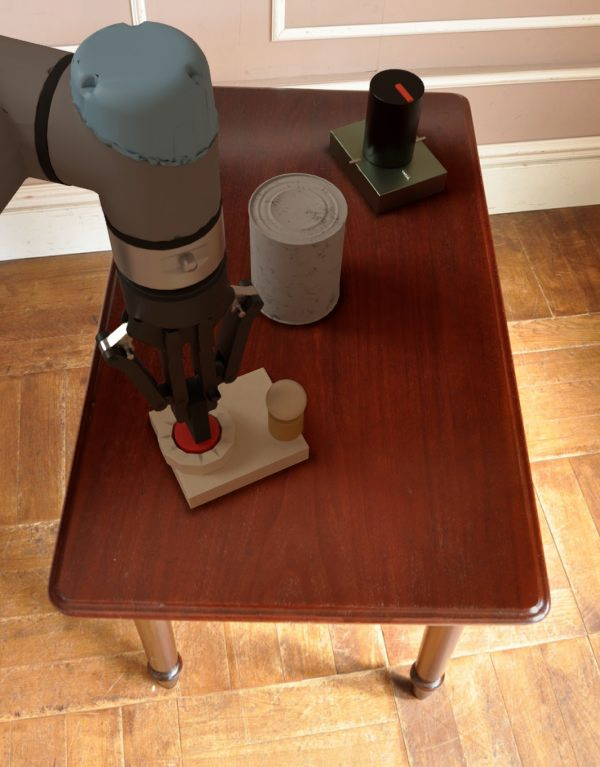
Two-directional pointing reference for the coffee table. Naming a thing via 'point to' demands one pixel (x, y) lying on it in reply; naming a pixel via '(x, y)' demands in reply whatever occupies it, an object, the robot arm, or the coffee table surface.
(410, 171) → the panel
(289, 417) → the led lamp
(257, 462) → the beige button base
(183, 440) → the lamp button
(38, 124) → the robot arm
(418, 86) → the dimmer knob
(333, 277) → the unlabeled tin can
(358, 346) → the coffee table surface
